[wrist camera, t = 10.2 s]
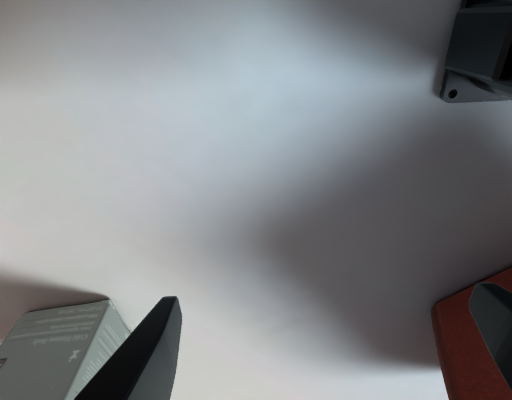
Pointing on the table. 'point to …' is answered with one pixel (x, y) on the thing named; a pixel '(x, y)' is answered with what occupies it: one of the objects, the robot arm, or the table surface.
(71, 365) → the skincare box
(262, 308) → the table surface
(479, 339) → the plant pot
